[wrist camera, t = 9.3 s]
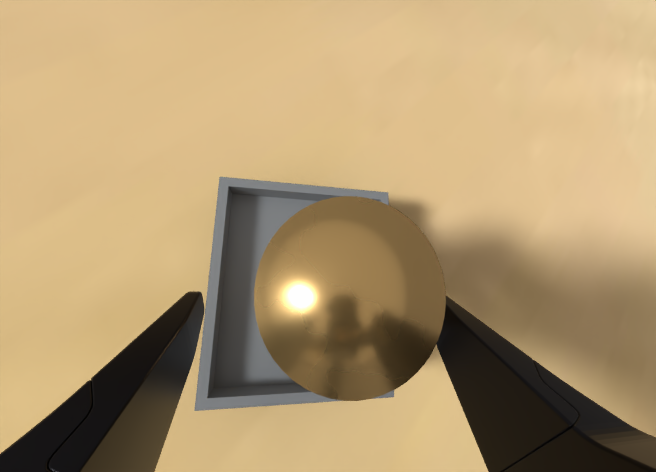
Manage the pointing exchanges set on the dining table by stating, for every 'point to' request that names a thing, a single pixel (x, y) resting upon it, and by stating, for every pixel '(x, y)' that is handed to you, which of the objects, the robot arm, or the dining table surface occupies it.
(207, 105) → the dining table surface
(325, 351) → the gold cylinder
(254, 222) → the gray rectangular tray
